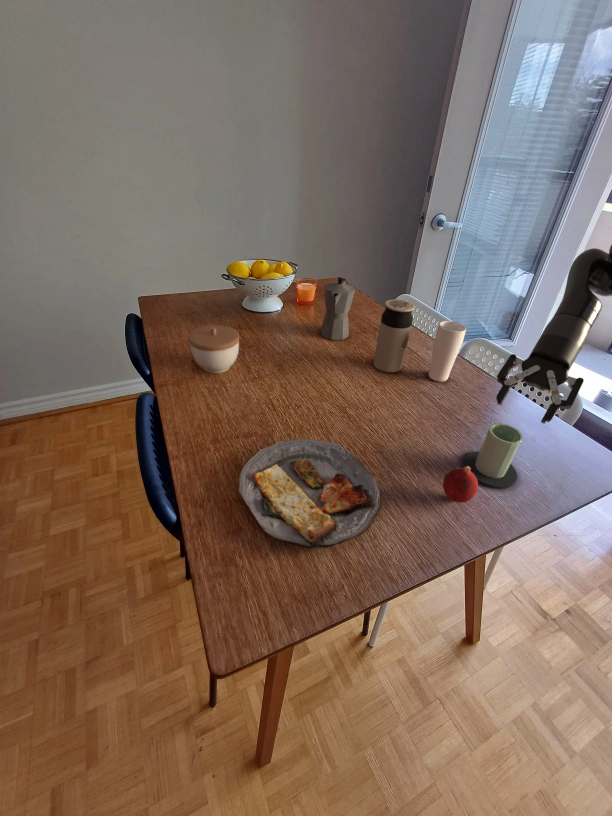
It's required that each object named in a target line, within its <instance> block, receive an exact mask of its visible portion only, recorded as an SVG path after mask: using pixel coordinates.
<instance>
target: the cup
mask: <svg viewBox="0 0 612 816" xmlns="http://www.w3.org/2000/svg"><path fill="white" fill-rule="evenodd" d="M523 439H524V437H523V434H522V433H521V432H520V430H518V429H517V428H515V427H514V426H512V425H510V424H505V423H499V422H498V423H493V424H491V425H490V426H489V428H488V430H487V432H486V435H485V438H484V440H483V442H482V445H481V447H480V449H479V451H480V452H479V454H478V456H477V459H476V462H475V466H476V468H477V469H478V471H479V472H481V473H482V474H484V475H486V476H488V477H491V478H501V477H503V476H504V475H505V474H506V472H507V470H508V468H509V466H510V464H511V465H512V461H513V459H514V457H515V456H516V454H517V451H518V449H519V447H520V445H521V443H522V441H523Z"/></svg>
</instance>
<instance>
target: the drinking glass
mask: <svg viewBox="0 0 612 816" xmlns="http://www.w3.org/2000/svg"><path fill="white" fill-rule="evenodd" d="M466 333H467V327H466V326H465V325H464V324H462V323H460V322H457V321H451V320H444V321H441V322H439V324H438V326H437V330H436V334H435V337H434V343H433V348H432V353H431V359H430V365H429V369H428V374H427V375H428V377H429V379H431V380H433V381H435V382H440V383H443V382H446V381H447V380H448V379H449V377H450V374H451V371H452V369H453V366H454V364H455V362H456V359H457V357H458V354H459V352H460V350H461V347H462V346H463V342H464V339H465V336H466Z"/></svg>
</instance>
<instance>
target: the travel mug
mask: <svg viewBox="0 0 612 816" xmlns="http://www.w3.org/2000/svg"><path fill="white" fill-rule="evenodd" d="M384 306H385V310H384V311H383V312H382V313H381V319H380V324H379V329H378V334H377V341H376V347H375V352H374V357H373V366H374V368H375V369H377V370H379V371H382V372H384V373H396V372H397V373H398V372H400V371H401V370H402V369H403V364H404V360H405V356H406V352H407V347H408V343H409V338H410V333H411V330H412V325H413V321H414V318H413V311H414V310H415V308H416V307H415V305H414V303H412V302H410V301H407V300H404V299H398V298H396V299H395V298H394V299H388V300H386V301H385V302H384Z"/></svg>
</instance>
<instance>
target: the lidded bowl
mask: <svg viewBox="0 0 612 816" xmlns="http://www.w3.org/2000/svg"><path fill="white" fill-rule="evenodd" d="M188 343H189V348H190V352H191V355H192V358H193V360H194V362H195V363H196V364H197V365H198V367H200V368H202V369H203V371H205V372H207V373H211V374H222V373H225V372H227V371H228V370H230V368H231V367H232V366H233V365H234V364H235V363H236V361H237V359H238V356H239V350H240V333H239V332H238V331H237V330H236V329H235V328H233V327H230V326H226V325H220V324H210V325H203V326H200V327H197V328H195V329H192V331H191V332H190V333H189V334H188Z"/></svg>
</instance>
